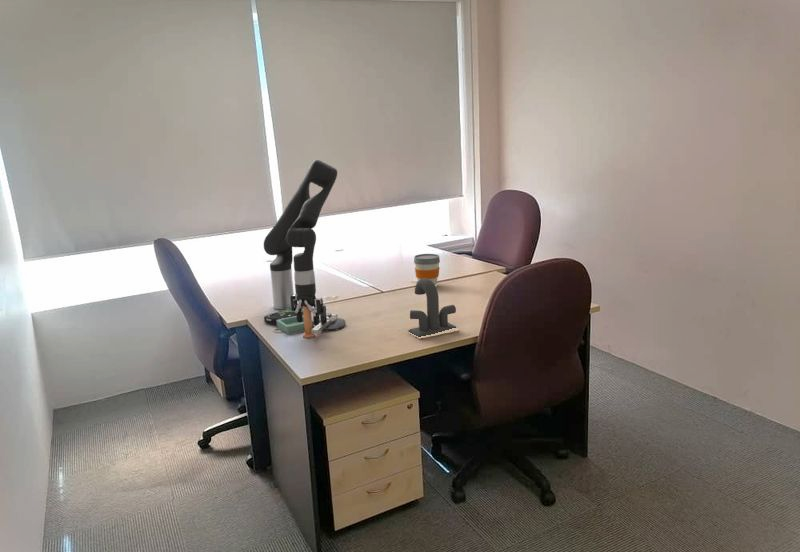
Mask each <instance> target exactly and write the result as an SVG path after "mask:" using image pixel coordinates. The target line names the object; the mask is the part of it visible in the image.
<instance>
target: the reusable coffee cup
mask: <svg viewBox="0 0 800 552" xmlns="http://www.w3.org/2000/svg"><path fill="white" fill-rule="evenodd" d="M413 257H414V259H413V263H414V265H415V266H414V273H415V278H416V279H417V282H418V281H419V280H420V279H423V278H427V279H430V280H431V281H432V282H433V283H434V284H435V285H436V284H437V285H438V278H439V275H440V262H441V259H440V255H439V254H434V253H421V254H416V255H414V256H413Z"/></svg>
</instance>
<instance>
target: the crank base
mask: <svg viewBox="0 0 800 552" xmlns="http://www.w3.org/2000/svg"><path fill="white" fill-rule="evenodd" d="M319 321H320V323H321V319H319ZM346 324H347V323H346V320H345V319H343V318H341V317H340V318H339V317H338V318H336V322H335V323H332V324H329V325H328V326H327V327H325V328H324V329H323V330H322V331H321V332H332V331H333V332H334V331H339V330H341V329H344V328H345V327H346ZM316 326H317V325H316ZM316 326H315V325H314V327H316Z"/></svg>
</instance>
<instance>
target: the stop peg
mask: <svg viewBox="0 0 800 552" xmlns="http://www.w3.org/2000/svg"><path fill="white" fill-rule="evenodd" d="M302 310H303V317H304V330H305V331H304V332H303V333H302V337H303V338H305V339H311V338H314V337H315V336H316V334H312V332H311V330H312V321H313V316H312V312H311V311H310V310H309V309H308V308H307V307H304V306H303V309H302Z"/></svg>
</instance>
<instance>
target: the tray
mask: <svg viewBox="0 0 800 552" xmlns="http://www.w3.org/2000/svg"><path fill="white" fill-rule="evenodd" d="M302 317H303V315H302ZM276 321H277V325H276V327H277V328H278V329H279V330H280V331H282V332H283V333H285V334H286V335H292V334H295V333H300V332H305V330H304V317H303V321H302V322H300V323H299V322H298V321H297V316H293V317H288V318H284V319H279V320H276ZM314 327H315V325H314V320H312V329H313V328H314Z"/></svg>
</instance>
